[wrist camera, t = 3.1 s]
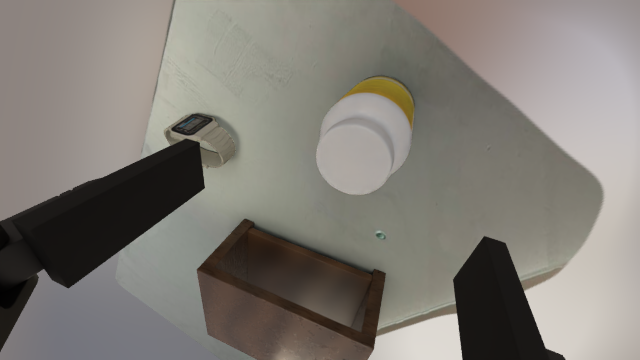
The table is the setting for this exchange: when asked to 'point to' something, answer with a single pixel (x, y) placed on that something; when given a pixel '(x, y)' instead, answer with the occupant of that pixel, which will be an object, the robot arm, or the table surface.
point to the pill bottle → (366, 135)
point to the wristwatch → (203, 138)
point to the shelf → (288, 300)
